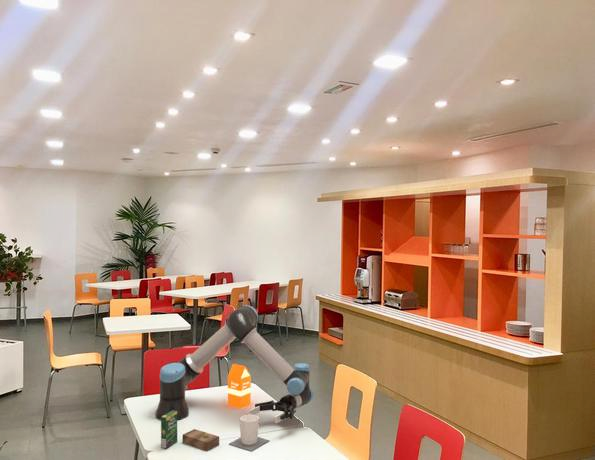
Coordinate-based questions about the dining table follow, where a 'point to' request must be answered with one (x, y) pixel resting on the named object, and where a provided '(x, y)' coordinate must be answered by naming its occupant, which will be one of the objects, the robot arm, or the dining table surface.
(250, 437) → the white cup
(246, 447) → the mat
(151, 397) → the dining table surface
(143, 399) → the dining table surface
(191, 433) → the walnut block
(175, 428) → the coffee box
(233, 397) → the orange juice
